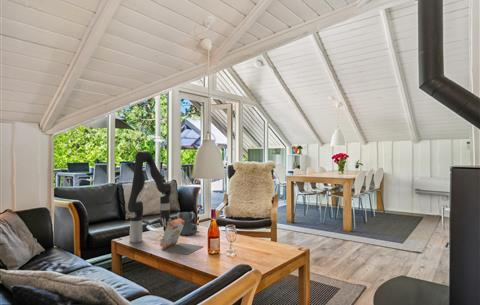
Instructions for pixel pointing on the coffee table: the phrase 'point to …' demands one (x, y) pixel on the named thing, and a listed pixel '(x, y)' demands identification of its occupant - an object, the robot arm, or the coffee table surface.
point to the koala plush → (187, 223)
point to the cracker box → (172, 233)
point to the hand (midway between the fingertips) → (165, 231)
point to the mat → (183, 248)
